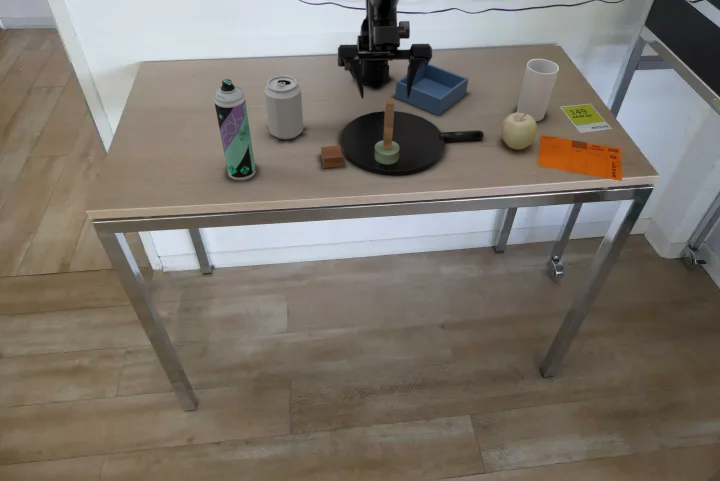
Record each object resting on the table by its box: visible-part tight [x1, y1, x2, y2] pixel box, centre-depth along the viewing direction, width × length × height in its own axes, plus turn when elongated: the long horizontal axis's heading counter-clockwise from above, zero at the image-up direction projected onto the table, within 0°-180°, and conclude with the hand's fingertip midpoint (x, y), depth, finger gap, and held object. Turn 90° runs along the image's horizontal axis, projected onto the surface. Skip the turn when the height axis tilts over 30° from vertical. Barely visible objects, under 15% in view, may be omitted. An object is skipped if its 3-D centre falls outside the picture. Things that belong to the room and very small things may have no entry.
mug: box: [516, 58, 560, 122], centre depth 126 cm, size 10×7×12 cm, turn 7°
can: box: [264, 74, 304, 140], centre depth 119 cm, size 8×8×12 cm
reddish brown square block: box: [320, 144, 344, 169], centre depth 115 cm, size 4×4×2 cm
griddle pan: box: [340, 110, 485, 176], centre depth 120 cm, size 31×22×2 cm
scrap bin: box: [395, 63, 469, 116], centre depth 133 cm, size 12×12×4 cm
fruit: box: [500, 112, 538, 151], centre depth 118 cm, size 8×7×8 cm
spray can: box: [213, 78, 256, 181], centre depth 105 cm, size 6×6×20 cm
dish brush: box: [374, 98, 400, 165], centre depth 110 cm, size 5×5×13 cm
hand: (385, 97), depth 113 cm, fingers open, 9 cm apart
